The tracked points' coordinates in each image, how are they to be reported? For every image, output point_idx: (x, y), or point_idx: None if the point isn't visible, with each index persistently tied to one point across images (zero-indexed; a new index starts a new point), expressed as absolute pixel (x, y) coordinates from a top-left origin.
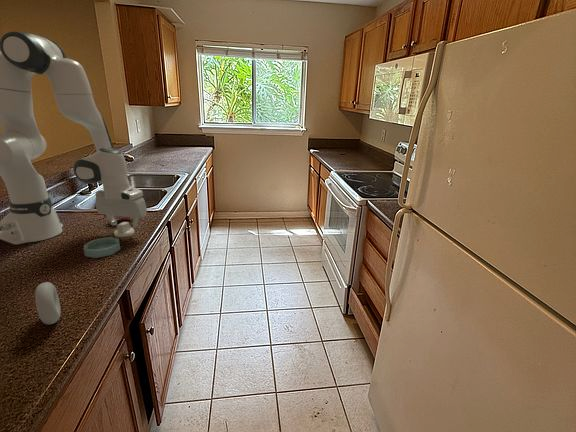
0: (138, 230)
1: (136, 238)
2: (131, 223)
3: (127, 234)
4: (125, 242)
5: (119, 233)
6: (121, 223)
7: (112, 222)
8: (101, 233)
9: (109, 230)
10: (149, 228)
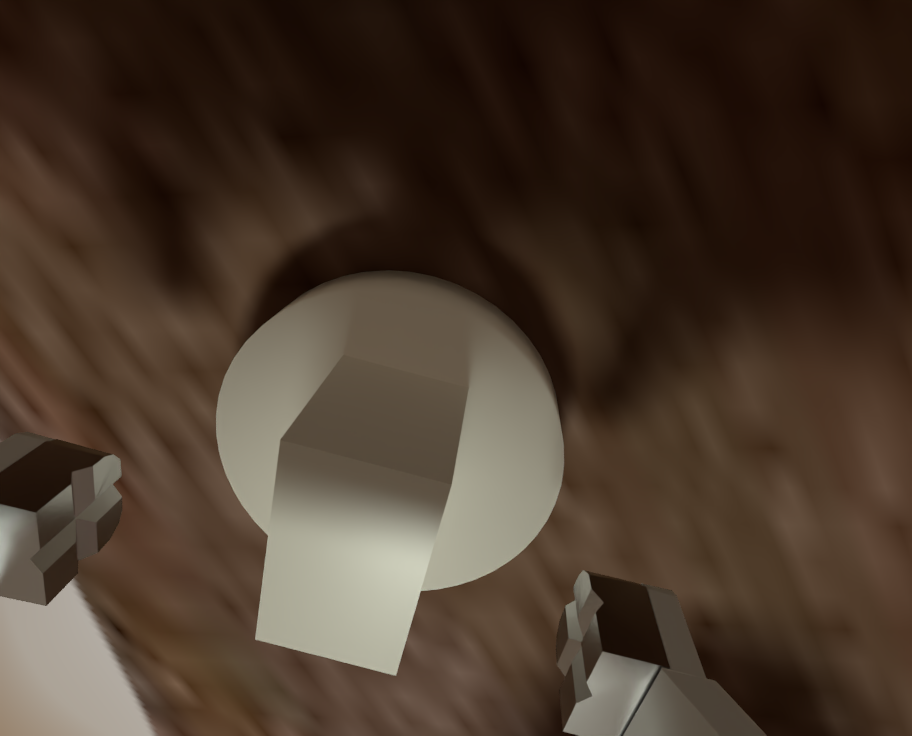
0: (260, 546)
1: (75, 244)
2: (5, 508)
3: (257, 334)
4: (143, 31)
5: (406, 342)
6: (389, 588)
7: (633, 631)
8: (837, 446)
9: (733, 558)
10: (150, 603)
